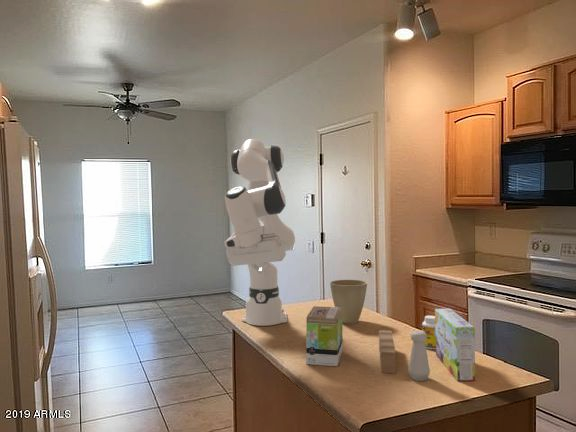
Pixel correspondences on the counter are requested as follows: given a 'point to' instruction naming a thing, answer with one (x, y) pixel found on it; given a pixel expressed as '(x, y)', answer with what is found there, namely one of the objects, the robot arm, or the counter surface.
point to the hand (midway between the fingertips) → (262, 274)
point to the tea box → (324, 336)
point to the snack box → (455, 344)
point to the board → (387, 352)
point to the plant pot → (349, 298)
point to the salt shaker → (418, 357)
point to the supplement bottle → (429, 332)
